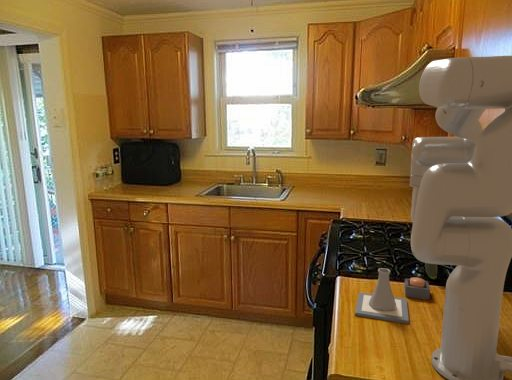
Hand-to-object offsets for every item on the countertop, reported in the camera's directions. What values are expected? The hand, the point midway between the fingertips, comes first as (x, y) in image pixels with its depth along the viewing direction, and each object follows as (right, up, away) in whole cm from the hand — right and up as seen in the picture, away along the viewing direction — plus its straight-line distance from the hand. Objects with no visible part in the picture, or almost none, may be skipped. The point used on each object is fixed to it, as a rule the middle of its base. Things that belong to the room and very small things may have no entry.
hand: (419, 244), depth 108 cm
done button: (0, -14, +2) cm, 14 cm away
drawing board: (-13, -16, -7) cm, 22 cm away
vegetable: (+9, -13, +14) cm, 21 cm away
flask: (-13, -16, -7) cm, 22 cm away
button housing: (0, -15, +2) cm, 15 cm away
